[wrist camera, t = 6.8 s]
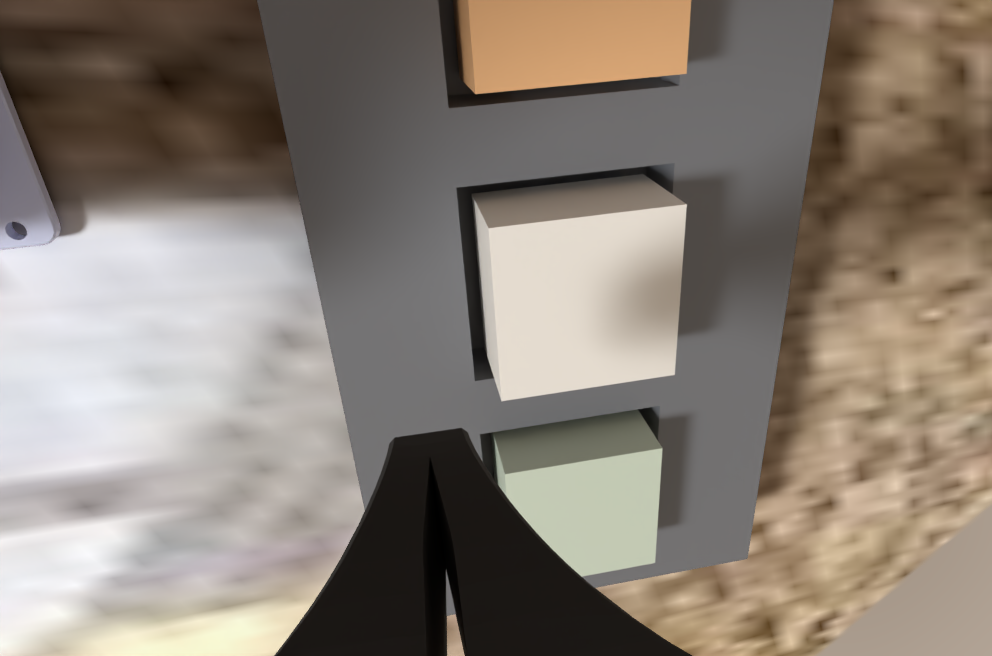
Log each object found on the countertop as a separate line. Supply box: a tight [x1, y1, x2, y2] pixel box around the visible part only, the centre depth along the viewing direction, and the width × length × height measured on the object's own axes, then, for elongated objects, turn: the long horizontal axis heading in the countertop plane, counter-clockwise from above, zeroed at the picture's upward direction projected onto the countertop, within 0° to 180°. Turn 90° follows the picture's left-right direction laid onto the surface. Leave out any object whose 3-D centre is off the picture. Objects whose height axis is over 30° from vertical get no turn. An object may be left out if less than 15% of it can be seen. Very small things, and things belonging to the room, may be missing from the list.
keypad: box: [257, 0, 834, 616], centre depth 20 cm, size 14×26×3 cm, turn 4°
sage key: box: [490, 409, 662, 577], centre depth 23 cm, size 5×5×3 cm
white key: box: [472, 174, 687, 401], centre depth 19 cm, size 5×5×3 cm
